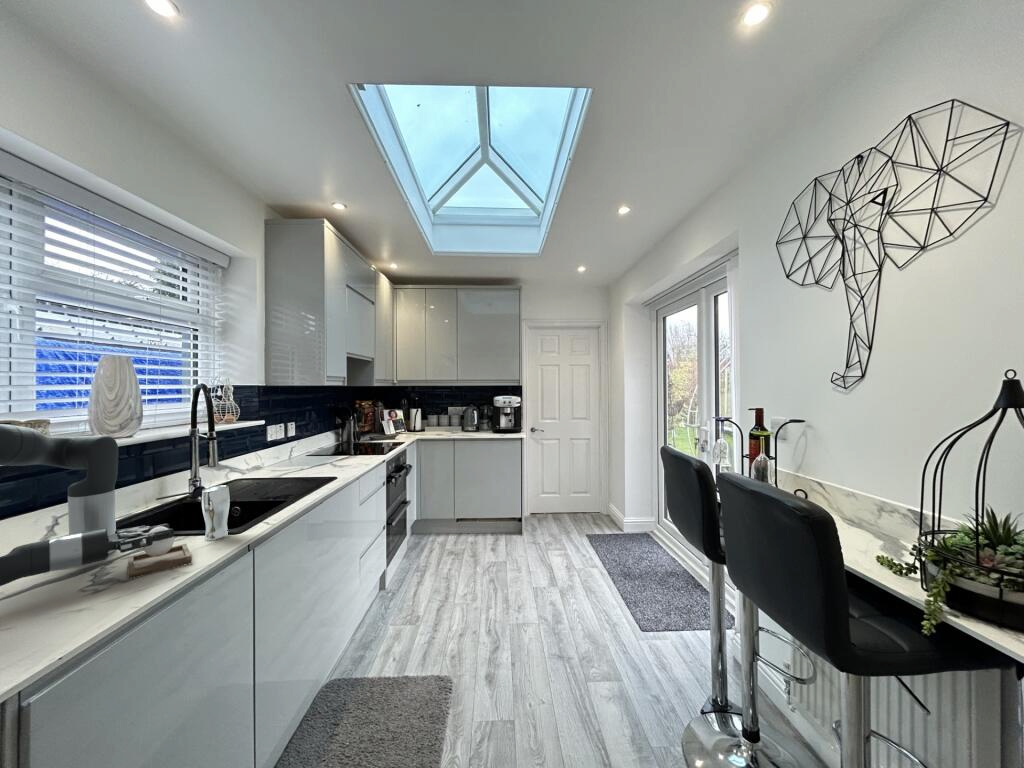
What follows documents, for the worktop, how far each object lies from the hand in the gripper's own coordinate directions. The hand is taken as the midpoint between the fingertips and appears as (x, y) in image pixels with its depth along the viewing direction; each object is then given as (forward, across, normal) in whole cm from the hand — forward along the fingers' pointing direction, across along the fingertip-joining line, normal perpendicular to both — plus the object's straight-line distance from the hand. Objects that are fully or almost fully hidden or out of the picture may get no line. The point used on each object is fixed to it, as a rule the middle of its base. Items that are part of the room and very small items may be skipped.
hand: (170, 530), depth 109 cm
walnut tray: (-2, 0, +8) cm, 9 cm away
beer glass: (+13, +12, +8) cm, 19 cm away
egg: (-2, 0, +6) cm, 7 cm away
